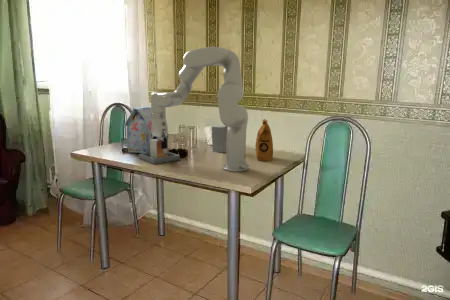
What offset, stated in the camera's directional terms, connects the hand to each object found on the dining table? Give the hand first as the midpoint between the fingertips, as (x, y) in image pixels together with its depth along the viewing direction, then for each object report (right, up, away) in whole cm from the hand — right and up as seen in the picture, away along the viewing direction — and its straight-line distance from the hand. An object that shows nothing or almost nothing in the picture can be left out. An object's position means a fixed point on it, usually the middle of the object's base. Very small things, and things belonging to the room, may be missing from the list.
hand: (159, 147), depth 194 cm
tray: (0, -7, +2) cm, 7 cm away
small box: (0, -6, +2) cm, 6 cm away
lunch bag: (-13, -2, +25) cm, 28 cm away
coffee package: (+57, -7, +7) cm, 58 cm away
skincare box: (+32, -3, +24) cm, 41 cm away
